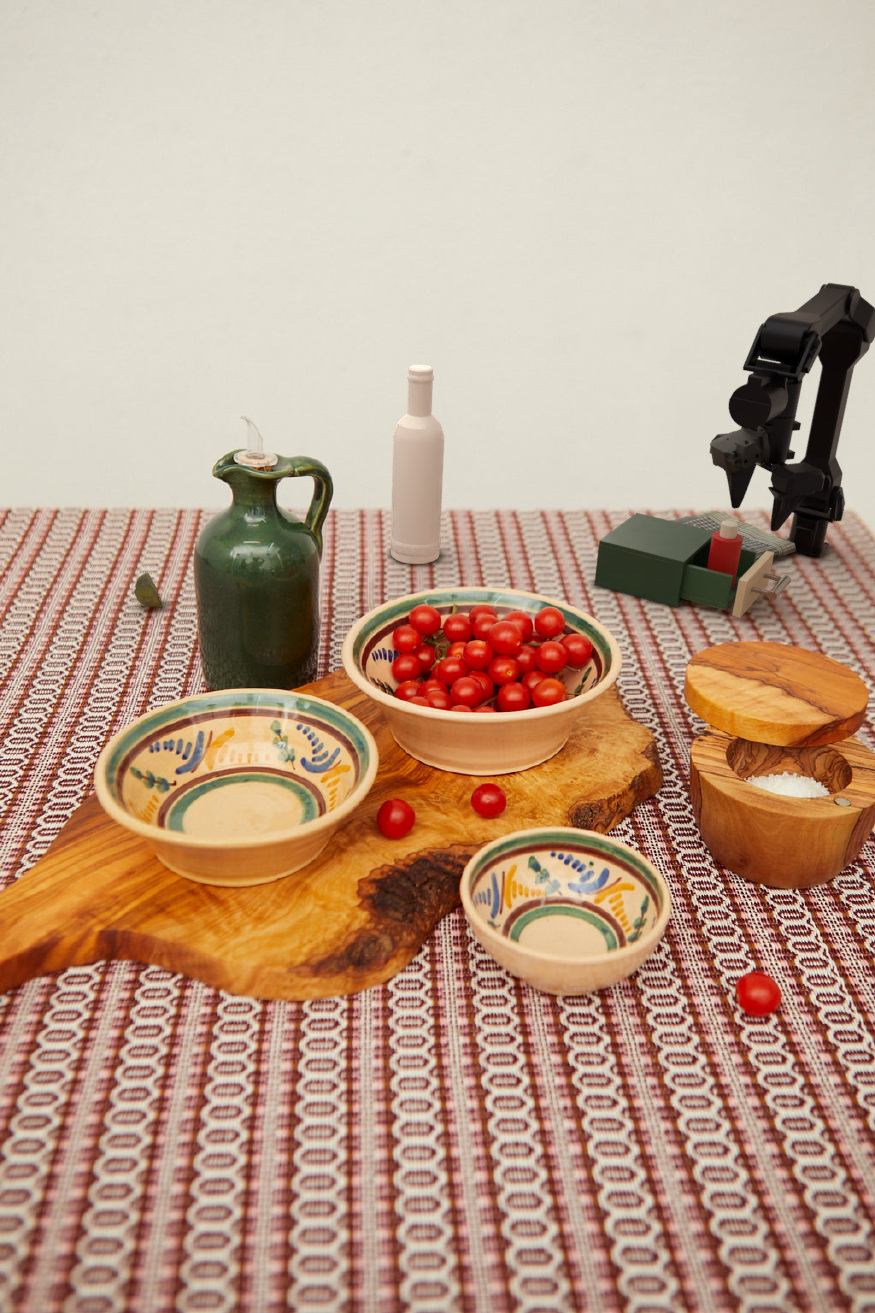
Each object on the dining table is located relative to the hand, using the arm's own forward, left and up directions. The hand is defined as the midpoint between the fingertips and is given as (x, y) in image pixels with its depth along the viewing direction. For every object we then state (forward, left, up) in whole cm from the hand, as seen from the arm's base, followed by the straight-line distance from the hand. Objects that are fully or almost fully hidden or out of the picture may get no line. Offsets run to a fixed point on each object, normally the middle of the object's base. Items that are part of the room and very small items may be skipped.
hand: (754, 519), depth 157 cm
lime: (+52, -69, -14) cm, 87 cm away
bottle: (+14, -49, -14) cm, 52 cm away
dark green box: (0, -14, -14) cm, 19 cm away
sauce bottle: (0, -3, -12) cm, 12 cm away
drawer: (0, -2, -13) cm, 13 cm away
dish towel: (-20, -10, -14) cm, 26 cm away
